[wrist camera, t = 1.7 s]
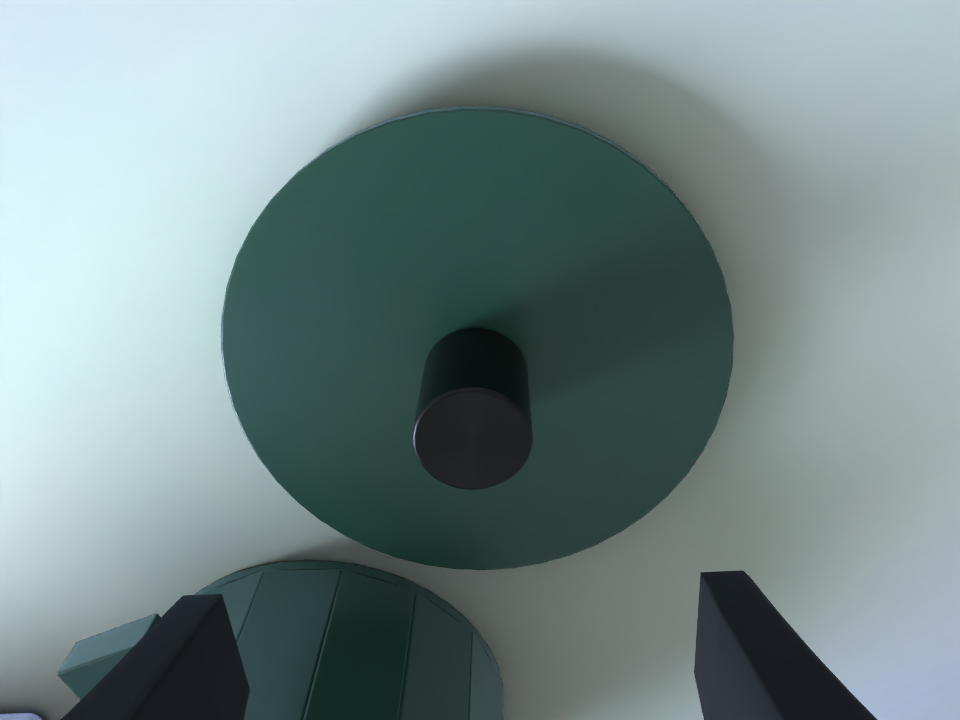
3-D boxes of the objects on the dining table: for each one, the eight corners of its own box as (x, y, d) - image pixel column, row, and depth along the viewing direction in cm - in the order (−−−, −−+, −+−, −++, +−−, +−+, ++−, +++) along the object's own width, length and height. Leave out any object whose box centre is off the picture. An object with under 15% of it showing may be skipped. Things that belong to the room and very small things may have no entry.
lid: (375, 596, 24) (352, 713, 20) (135, 235, 19) (43, 300, 15) (779, 459, 22) (839, 563, 18) (624, 1, 17) (663, 8, 13)
